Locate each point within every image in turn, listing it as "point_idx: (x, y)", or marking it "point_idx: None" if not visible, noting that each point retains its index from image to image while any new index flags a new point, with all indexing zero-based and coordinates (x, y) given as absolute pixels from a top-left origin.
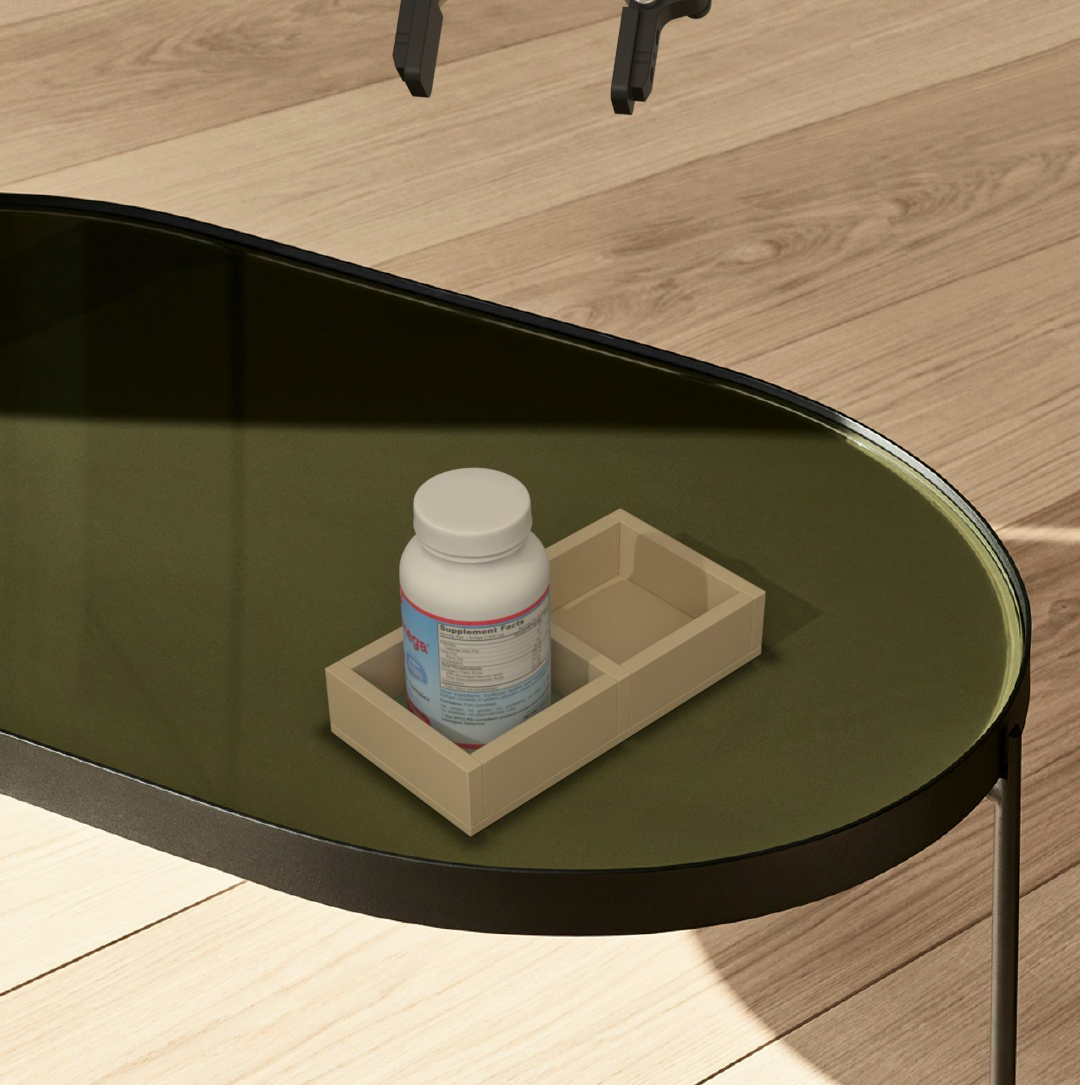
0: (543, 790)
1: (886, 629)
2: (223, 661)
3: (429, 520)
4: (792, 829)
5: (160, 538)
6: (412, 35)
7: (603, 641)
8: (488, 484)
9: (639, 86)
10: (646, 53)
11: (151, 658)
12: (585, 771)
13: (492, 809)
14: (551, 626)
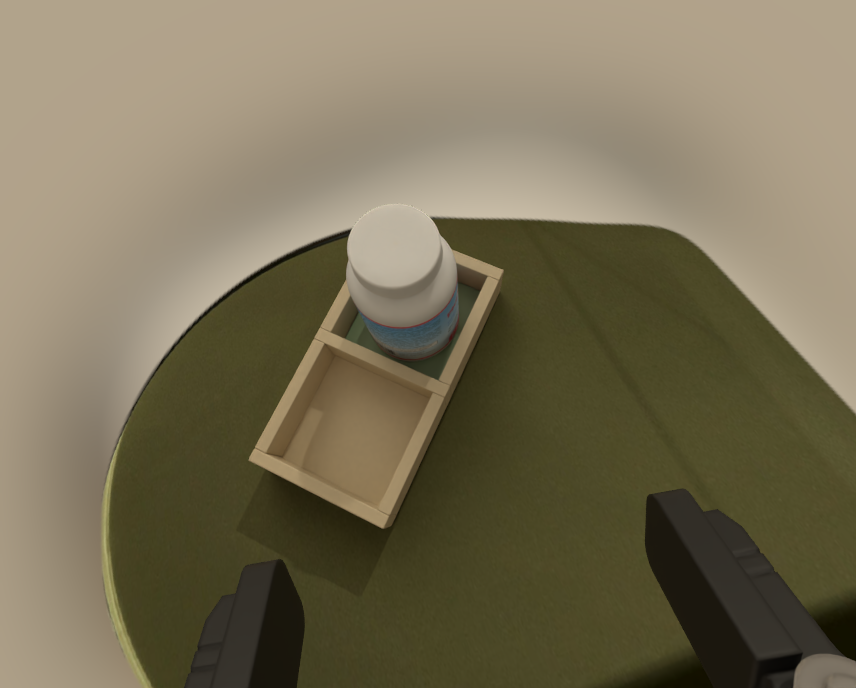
0: None
1: (190, 526)
2: (601, 325)
3: (413, 207)
4: (219, 314)
5: (734, 434)
6: (721, 548)
7: (369, 427)
8: (389, 266)
9: (227, 597)
10: (203, 666)
11: (646, 311)
12: None
13: None
14: (380, 364)
